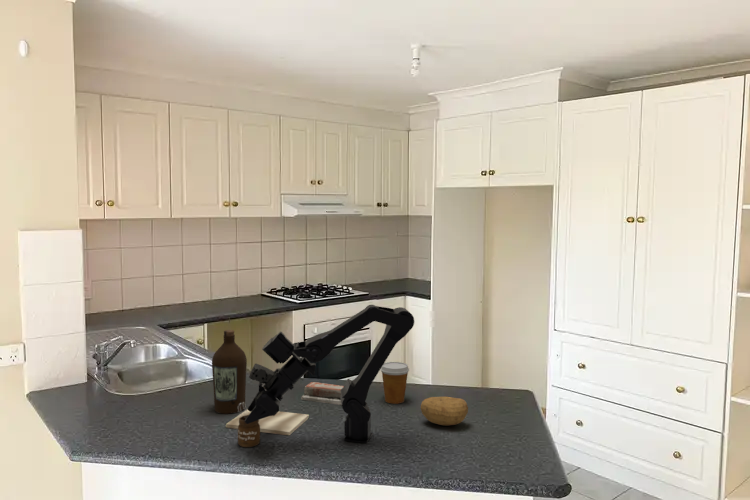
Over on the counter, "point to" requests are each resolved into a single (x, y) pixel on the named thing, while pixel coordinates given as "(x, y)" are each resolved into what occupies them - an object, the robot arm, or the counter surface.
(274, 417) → the birch board
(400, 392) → the disposable coffee cup
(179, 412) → the counter surface
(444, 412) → the potato
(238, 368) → the olive oil
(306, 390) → the packaged product
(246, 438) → the utensil holder
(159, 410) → the counter surface
